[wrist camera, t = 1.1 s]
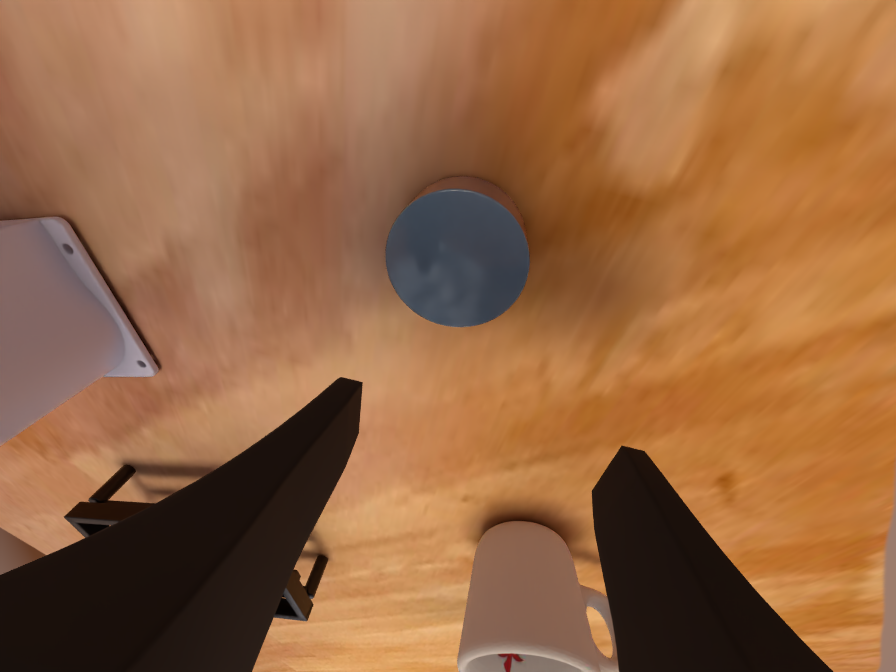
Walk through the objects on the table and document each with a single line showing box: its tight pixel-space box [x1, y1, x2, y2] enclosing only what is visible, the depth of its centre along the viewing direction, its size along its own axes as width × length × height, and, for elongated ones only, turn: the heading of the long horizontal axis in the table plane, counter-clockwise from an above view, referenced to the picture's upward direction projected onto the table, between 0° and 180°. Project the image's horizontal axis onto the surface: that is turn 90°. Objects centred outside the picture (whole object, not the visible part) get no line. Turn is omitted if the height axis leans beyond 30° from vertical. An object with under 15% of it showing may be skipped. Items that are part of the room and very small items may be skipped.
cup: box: [457, 521, 619, 672], centre depth 24 cm, size 11×8×8 cm
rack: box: [64, 465, 328, 621], centre depth 29 cm, size 12×14×4 cm
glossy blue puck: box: [385, 176, 530, 327], centre depth 15 cm, size 6×6×3 cm
